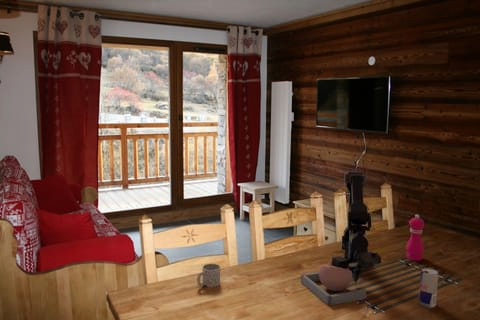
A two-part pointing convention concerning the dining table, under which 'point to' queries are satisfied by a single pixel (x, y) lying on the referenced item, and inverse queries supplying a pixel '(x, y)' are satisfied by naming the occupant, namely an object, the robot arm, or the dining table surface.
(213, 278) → the mug
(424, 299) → the energy drink
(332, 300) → the grey frame
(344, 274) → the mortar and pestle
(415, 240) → the pepper mill
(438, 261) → the dining table surface
